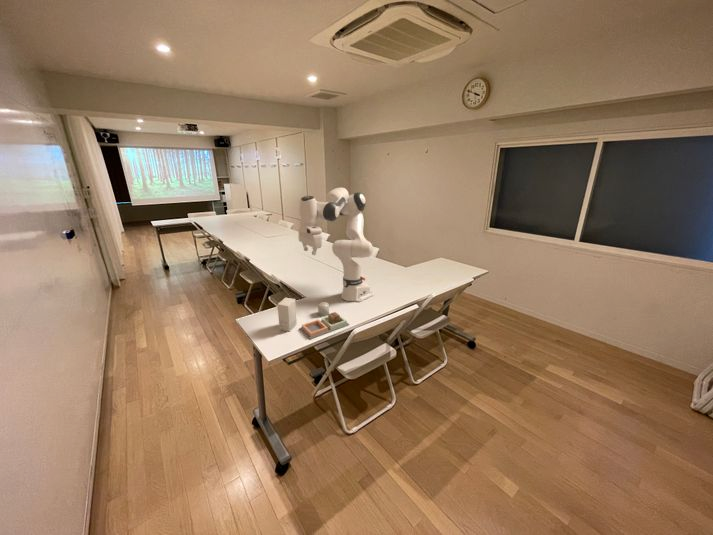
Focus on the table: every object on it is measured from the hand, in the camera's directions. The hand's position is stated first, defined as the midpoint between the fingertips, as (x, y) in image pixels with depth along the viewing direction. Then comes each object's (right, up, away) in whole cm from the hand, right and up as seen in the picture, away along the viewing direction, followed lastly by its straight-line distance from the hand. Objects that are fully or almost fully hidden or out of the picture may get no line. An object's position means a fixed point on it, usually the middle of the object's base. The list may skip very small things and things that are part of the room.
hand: (309, 252), depth 150 cm
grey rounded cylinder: (+6, -35, +12) cm, 38 cm away
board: (+8, -40, -2) cm, 41 cm away
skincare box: (-11, -40, -3) cm, 42 cm away
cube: (+13, -39, +1) cm, 41 cm away
